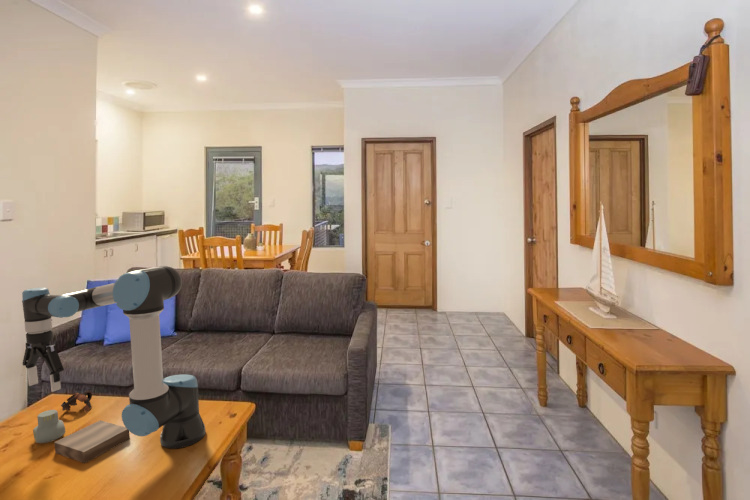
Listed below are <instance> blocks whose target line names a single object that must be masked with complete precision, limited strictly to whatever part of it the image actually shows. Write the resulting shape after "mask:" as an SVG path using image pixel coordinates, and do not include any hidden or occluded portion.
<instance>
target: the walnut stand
mask: <svg viewBox="0 0 750 500" xmlns="http://www.w3.org/2000/svg"><path fill="white" fill-rule="evenodd" d="M130 438H131V437H130V431H129V430H128V429H127V428H126V427H125V426H122V425H119V424H115V423H111V422H108V421H104V420H98V421H96V422H94V423H92V424H89V425H87V426H85V427H83V428H81V429H79V430H77V431H75V432H73V433H71V434H69V435H66V436H64V437H63V438H59V439H57V440H55V441H53V444H54V445H53V446H54V453H55V454H56V455H59V456H62V457H65V458H68V459H71V460H74V461H77V462H80V463H82V464H87V463H89V462H91V461H92V460H94V459H96V458H97V457H99V456H101V455H103V454H105V453H106V452H108V451H110V450H111V449H113V448H116V447H118V446H119V445H121V444H122V443H125V442H126V441H128V440H130Z"/></svg>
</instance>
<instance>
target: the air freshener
mask: <svg viewBox="0 0 750 500" xmlns="http://www.w3.org/2000/svg"><path fill="white" fill-rule="evenodd" d="M36 417H37V425H36V426H35V427H34V428H33V429H32V433H33V438H34V441H35V443H36V444H46V443H47V444H48V443H51V442H55V441H57V440H59V439H61V437H63V436H64V435H65V434H66V427H65V424H64V421H63V420H62V419H59V413H58V410H56V409H48V410H45V411H43V412H40V413H39V414H38V415H37V416H36Z"/></svg>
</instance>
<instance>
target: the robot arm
mask: <svg viewBox="0 0 750 500" xmlns="http://www.w3.org/2000/svg"><path fill="white" fill-rule="evenodd" d="M182 287H183V279H182V276H181V274H180V272H179V271H178V270H176V269H175V268H173V267H172V266H168V265H160V266H155V267H149V268H143V269H137V270H131V271H129V272H126V273H123V274H122V275H120V276H119V277H118V278H117V279H116V280H115V281H114V282H112V283H109V284H104V285H100V286H95V287H91V288H87V289H82V290H77V291H73V292H67V293H63V294H51V293H50V290H49V288H47V287H33V288H28V289H24V290H23V291H22V292H21V293H22V294H21V295H22V298H21V299H22V301H21V302H22V310H23V317H24V318H23V319H24V330H25V333H26V334H25V339H26V342H25V351H24V355H23V359H22V366H23V367H24V366H25V368H26V371H27V380H28V386H29V387H31V386H33V385H37V384H38V383H39V375H38V366H37V362H38V359H39V357H40V359H41V360H43V361H44V363H45V364H46V366H47V369H49V372H50V373H49V379H50V390H51V392H52V393H53V392H56V391H58V390H61V389H62V385H61V376H60V375H61V372H64V370H65V369H64V365H63V363H62V361H61V358H60V355H59V353H58V350H57V346H56V344H52V345H51V344H50V342H51V341H52V340H54V331H53V329H52V328H53V323H52V321H53V319H52V317H54V318H70V317H72V316H74V315H75V314H76V313H79V312H83V311H87V310H90V309H96V308H101V307H104V306H107V305H109V306H110V305H113V304H115V305H116V306H117V307H118V308H119V309H120V310H122V313H123V315H124V316H126V318H128V319H129V321H128V323H129V333H130V335H129V336H130V351H131V361H132V362H131V363H132V377H133V378H132V379H133V389H132V390H131V391H130V392H129V394H128V397H129V404H127V405H126V406H125V407H124V408H123V410H121V421H122V423H123V425H124V427H126V428H127V429H128V430H129V433H131V434H133V435H134V436H137V437H146V436H149V435H151V434H152V433H154V432H156V431H158V430H159V429H160V428H161V427H162V430H161V432H160V436H159V441H160V445H161V446H162V447H164V448H166V449H173V450H174V449H182V448H185V447H189V446H192V445H195V444H197V442H199V441H201V440H202V439H203V438H204V437H205V435H206V425H205V423H204V420H203V419H202V417H201V413H200V404H199V384H198V380H197V377H196V376H195V375H192V374H173V375H169V376H167V377H164V371H163V356H162V354H163V353H162V352H163V351H162V338H161V335H162V334H161V323H160V322H161V321H160V320H161V319H160V315H161V313H162V312H163V311H164V310H165V303H164V302H165V301H167V300H169V299H172V298H173V297H175V296H176V295H178V294H179V292H180V291H181V289H182Z"/></svg>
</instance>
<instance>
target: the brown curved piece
mask: <svg viewBox="0 0 750 500" xmlns="http://www.w3.org/2000/svg"><path fill="white" fill-rule="evenodd" d="M92 398H93V394H92V392H91V391H90V390H86V391H83V393H79V392H76V393H74V394H72V395H71V396H69V397H68V398H67V399H66V401H67V402H66V401H63V402H62V403H61V405H60V407H62V412H64V411H69V410H70V409H71V406H73V407H74V406H77V405H78V404H77V400H78V401H79V402H81V403H84V404H85V406H84V407H83V408H82V409H83V410H84V412H85V413H87V412H88V411H89V410H90V409H91V408H92V407H93V406H92V404H91V400H92Z"/></svg>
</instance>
